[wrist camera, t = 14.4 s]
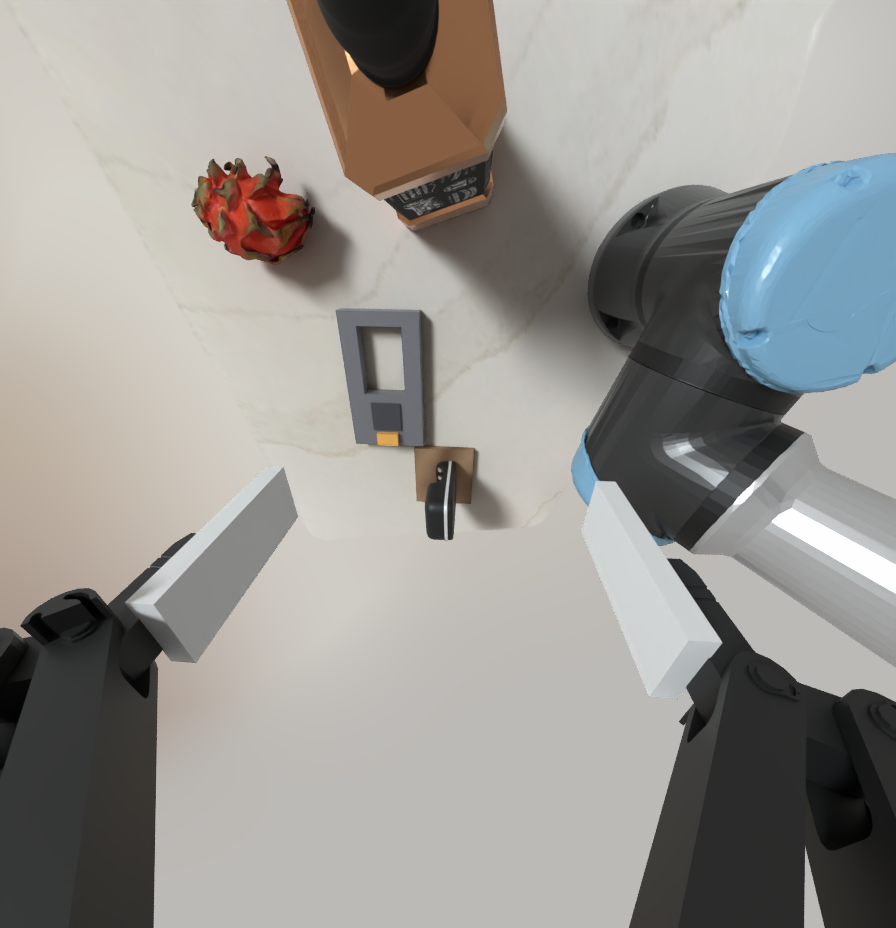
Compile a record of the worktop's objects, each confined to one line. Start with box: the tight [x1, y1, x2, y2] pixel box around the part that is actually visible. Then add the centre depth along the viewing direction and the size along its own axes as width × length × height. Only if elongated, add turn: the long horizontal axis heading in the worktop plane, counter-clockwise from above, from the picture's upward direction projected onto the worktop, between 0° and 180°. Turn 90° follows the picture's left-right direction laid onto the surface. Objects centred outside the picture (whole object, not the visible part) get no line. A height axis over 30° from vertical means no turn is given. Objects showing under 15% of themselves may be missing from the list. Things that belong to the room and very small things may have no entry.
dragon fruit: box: [191, 156, 315, 265], centre depth 33 cm, size 8×8×12 cm
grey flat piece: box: [336, 309, 425, 446], centre depth 44 cm, size 10×18×3 cm, turn 179°
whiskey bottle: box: [287, 0, 507, 231], centre depth 19 cm, size 10×10×32 cm
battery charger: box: [425, 461, 456, 541], centre depth 47 cm, size 7×4×11 cm, turn 1°
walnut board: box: [414, 446, 474, 504], centre depth 52 cm, size 9×10×1 cm
